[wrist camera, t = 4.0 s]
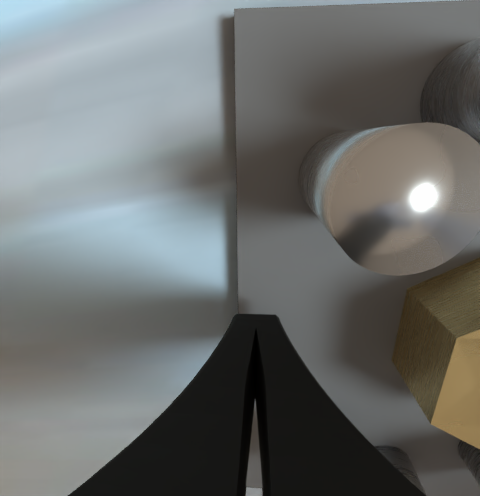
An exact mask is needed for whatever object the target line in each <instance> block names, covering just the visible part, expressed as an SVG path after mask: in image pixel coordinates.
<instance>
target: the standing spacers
mask: <svg viewBox="0 0 480 496" xmlns="http://www.w3.org/2000/svg"><path fill="white" fill-rule="evenodd" d="M420 116H421V120H422V123H413V124H404V125H396V126H387V127H378V128H369V129H360V130H351V131H343V132H337V133H333V134H330V135H328V136H326V137H324V138H322V139H321V140H319V141H318V142H317V143H315V144H314V145H313V146H312V147H311V148H310V149H309V151H308V152H307V154H306V155H305V157H304V159H303V161H302V163H301V166H300V170H299V188H300V192H301V194H302V197H303V199H304V200H305V202H306V203H307V204H308V206H309V207H310V208H311V210H312V211H313V212H314V213H315V215H316V216H317V217H318V218H319V220H320V221H321V222H322V224H323V225H324V226H325V227H326V229H327V230H328V231H329V233H330V234H331V235H332V236H333V238H334V239H335V240H336V242H337V243H338V244H339V245H340V247H341V248H342V249H343V251H344V252H345V253H346V254H347V255H348V256H349V257H350V258H351V259H352V260H353V261H354V262H356V263H357V264H359V265H360V266H362V267H364V268H366V269H368V270H370V271H373V272H376V273H380V274H385V275H394V276H400V275H411V274H417V273H420V272H424V271H427V270H430V269H432V268H435V267H437V266H439V265H441V264H443V263H445V262H446V261H448V260H450V259H451V258H453V257H454V256H455V255H457V254H458V253H459V252H460V251H462V250H463V249H464V248H465V247H466V246H467V245H468V244H469V243H470V242H471V240H472V239H473V238H474V237H475V236H476V234H477V233H478V231H479V230H480V37H479V38H477V39H475V40H472V41H470V42H468V43H466V44H464V45H462V46H460V47H458V48H456V49H454V50H453V51H451V52H450V53H448V54H447V55H446V56H445V57H444V58H443V59H442V60H441V61H440V62H439V63H438V64H437V65H436V66H435V67H434V69H433V70H432V72H431V73H430V75H429V76H428V78H427V80H426V82H425V85H424V87H423V90H422V94H421V99H420ZM374 447H375V448H376V449H377V450H379V451H380V452H381V453H382V454H383V455H384V456H385V457H386V458H387V459H388V460H389V461H390V462H391V463H392V464H393V465H394V466H395V467H396V468H397V469H398V470H399V471H400V472H401V473H402V474H403V475H404V476H405V477H406V478H407V479H408V480H409V481H410V482H411V483H413V484H414V485H415V486H416V487H417V488H418V489H419V490H420V491H422V492H423V493H424V494H425V495H426V496H427V494H426V492H425V490H424V488H423V486H422V483H421V481H420V479H419V477H418V475H417V473H416V471H415V469H414V467H413V465H412V463H411V460H410V458H409V456H408V455H407V454H406V453H405V452H404V451H403V450H401V449H399V448H397V447H393V446H387V445H380V446H374ZM458 454H459V456H460V457H461V459H462V460H463V462H464V463H465V465H466V467H467V468H468V470H469V471H470V473H471V474H472V476H473V477H474V479H475V481H476V482H477V484H478V485H479V487H480V449H478V448H476V447H474V446H472V445H470V444H468V443H466V442H464V441H462V440H460V441H459V444H458Z"/></svg>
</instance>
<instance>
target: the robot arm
mask: <svg viewBox="0 0 480 496" xmlns="http://www.w3.org/2000/svg"><path fill="white" fill-rule="evenodd" d="M255 400H256V413H257V425H258V437H259V449H260V462H261V474H262V492H263V496H426V495H425V494H424V493H423V492H422V491H420V490H419V489H418V488H417V487H416V486H415V485H414V484H413V483H411V482H410V481H409V480H408V479H407V478H406V477H405V476H404V475H403V474H402V473H401V472H400V471H399V470H398V469H397V468H396V467H395V466H394V465H393V464H392V463H391V462H390V461H389V460H388V459H387V458H386V457H385V456H384V455H383V454H382V453H381V452H380V451H379V450H377V449H376V448H375V447H374V446H373V445H372V444H371V443H370V442H369V441H368V440H367V439H366V438H365V437H364V435H363V434H362V433H361V432H360V431H359V430H358V429H357V428H356V427H355V426H354V425H353V424H352V422H351V421H350V420H349V419H348V418H347V417H346V416H345V415H344V413H343V412H342V411H341V410H340V409H339V408H338V407H337V405H336V404H335V403H334V402H333V401H332V399H331V398H330V397H329V396H328V395H327V393H326V392H325V391H324V389H323V388H322V387H321V386H320V384H319V383H318V382H317V380H316V379H315V377H314V376H313V375H312V373H311V372H310V371H309V369H308V368H307V366H306V365H305V363H304V362H303V360H302V359H301V357H300V356H299V354H298V353H297V351H296V349H295V348H294V346H293V345H292V343H291V341H290V339H289V338H288V336H287V334H286V332H285V330H284V328H283V326H282V324H281V322H280V319H279V317H278V316H277V315H272V314H236V315H235V316H234V317H233V319H232V322H231V324H230V326H229V328H228V329H227V331H226V333H225V335H224V336H223V338H222V340H221V341H220V343H219V344H218V346H217V347H216V349H215V350H214V352H213V353H212V355H211V356H210V357H209V359H208V360H207V362H206V363H205V364H204V365H203V367H202V368H201V369H200V371H199V372H198V373H197V375H196V376H195V377H194V379H193V380H192V381H191V382H190V383H189V385H188V386H187V387H186V388H185V389H184V390H183V392H182V393H181V394H180V395H179V396H178V397H177V398H176V399H175V400H174V401H173V403H172V404H171V405H170V406H169V407H168V408H167V409H166V410H165V411H164V412H163V413H162V414H161V415H160V416H159V417H158V418H157V419H156V420H155V421H154V422H153V423H152V424H151V425H150V426H149V427H148V428H147V429H146V430H145V431H144V432H143V433H142V434H140V435H139V436H138V437H137V438H136V439H135V440H134V441H133V442H132V443H131V444H130V445H128V446H127V447H126V448H125V449H124V450H123V451H121V452H120V453H119V454H118V455H117V456H116V457H114V458H113V459H112V460H111V461H110V462H108V463H107V464H106V465H105V466H104V467H103V468H101V469H100V470H99V471H98V472H97V473H95V474H94V475H93V476H92V477H91V478H90V479H88V480H87V481H86V482H85V483H83V484H82V485H81V486H80V487H78V488H77V489H76V490H75V491H73V492H72V493H71V494H69V495H68V496H245V495H246V481H247V471H248V461H249V452H250V443H251V433H252V424H253V414H254V405H255Z"/></svg>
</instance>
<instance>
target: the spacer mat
mask: <svg viewBox="0 0 480 496" xmlns="http://www.w3.org/2000/svg"><path fill="white" fill-rule="evenodd" d="M234 31H235V108H236V185H237V261H238V314H272V315H277V316H278V317H279V319H280V322H281V324H282V326H283V328H284V330H285V332H286V334H287V336H288V338H289V339H290V341H291V343H292V345H293V346H294V348H295V349H296V351H297V353H298V354H299V356H300V357H301V359H302V360H303V362H304V363H305V365H306V366H307V368H308V369H309V371H310V372H311V373H312V375H313V376H314V377H315V379H316V380H317V382H318V383H319V384H320V386H321V387H322V388H323V389H324V391H325V392H326V393H327V395H328V396H329V397H330V398H331V399H332V401H333V402H334V403H335V404H336V405H337V407H338V408H339V409H340V410H341V411H342V412H343V413H344V415H345V416H346V417H347V418H348V419H349V420H350V421H351V422H352V424H353V425H354V426H355V427H356V428H357V429H358V430H359V431H360V432H361V433H362V434H363V435H364V437H365V438H366V439H367V440H368V441H369V442H370V443H371V444H372V445H373V446H380V445H387V446H393V447H397V448H399V449H401V450H403V451H404V452H405V453H406V454H407V455H408V456H409V458H410V460H411V463H412V465H413V467H414V469H415V471H416V473H417V475H418V477H419V479H420V481H421V483H422V486H423V488H424V490H425V492H426V494H427V496H480V487H479V485H478V484H477V482H476V481H475V479H474V477H473V476H472V474H471V473H470V471H469V470H468V468H467V467H466V465H465V463H464V462H463V460H462V459H461V457H460V456H459V454H458V444H459V441H460V439H459V438H457V437H455V436H453V435H451V434H449V433H447V432H445V431H443V430H441V429H439V428H437V427H435V426H433V425H431V424H430V422H429V421H428V419H427V417H426V416H425V414H424V413H423V411H422V409H421V408H420V406H419V404H418V403H417V401H416V399H415V398H414V396H413V395H412V393H411V391H410V390H409V388H408V386H407V385H406V383H405V381H404V380H403V378H402V376H401V375H400V373H399V372H398V370H397V368H396V367H395V365H394V363H393V362H392V355H393V351H394V346H395V342H396V337H397V332H398V328H399V323H400V319H401V314H402V309H403V305H404V300H405V296H406V291H407V288H410V287H412V286H414V285H417V284H419V283H421V282H424V281H426V280H428V279H431V278H433V277H435V276H438V275H440V274H442V273H445V272H447V271H449V270H452V269H454V268H456V267H459V266H461V265H463V264H465V263H468V262H470V261H472V260H475V259H477V258H479V257H480V230H479V231H478V233H477V234H476V236H475V237H474V238H473V239H472V240H471V242H470V243H469V244H468V245H467V246H466V247H465V248H464V249H463V250H462V251H460V252H459V253H458V254H457V255H455V256H454V257H453V258H451V259H450V260H448V261H446V262H445V263H443V264H441V265H439V266H437V267H435V268H432V269H430V270H427V271H424V272H420V273H417V274H411V275H400V276H394V275H385V274H380V273H376V272H373V271H370V270H368V269H366V268H364V267H362V266H360V265H359V264H357V263H356V262H354V261H353V260H352V259H351V258H350V257H349V256H348V255H347V254H346V253H345V252H344V251H343V249H342V248H341V247H340V245H339V244H338V243H337V242H336V240H335V239H334V238H333V236H332V235H331V234H330V233H329V231H328V230H327V229H326V227H325V226H324V225H323V224H322V222H321V221H320V220H319V218H318V217H317V216H316V215H315V213H314V212H313V211H312V210H311V208H310V207H309V206H308V204H307V203H306V202H305V200H304V199H303V197H302V194H301V192H300V188H299V170H300V166H301V163H302V161H303V159H304V157H305V155H306V154H307V152H308V151H309V149H310V148H311V147H312V146H313V145H314V144H315V143H317V142H318V141H319V140H321V139H322V138H324V137H326V136H328V135H330V134H333V133H337V132H343V131H351V130H360V129H369V128H378V127H387V126H396V125H404V124H413V123H422V120H421V116H420V99H421V94H422V90H423V87H424V85H425V82H426V80H427V78H428V76H429V75H430V73H431V72H432V70H433V69H434V67H435V66H436V65H437V64H438V63H439V62H440V61H441V60H442V59H443V58H444V57H445V56H446V55H447V54H448V53H450V52H451V51H453V50H454V49H456V48H458V47H460V46H462V45H464V44H466V43H468V42H470V41H472V40H475V39H477V38H479V37H480V0H463V1H436V2H409V3H381V4H354V5H327V6H299V7H272V8H245V9H234ZM246 487H250V488H262V474H261V462H260V449H259V437H258V425H257V413H256V400H255V405H254V414H253V424H252V433H251V443H250V452H249V461H248V471H247V481H246Z"/></svg>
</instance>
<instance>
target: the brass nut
mask: <svg viewBox="0 0 480 496" xmlns="http://www.w3.org/2000/svg"><path fill="white" fill-rule="evenodd" d="M392 362H393V363H394V365H395V367H396V368H397V370H398V372H399V373H400V375H401V376H402V378H403V380H404V381H405V383H406V385H407V386H408V388H409V390H410V391H411V393H412V395H413V396H414V398H415V399H416V401H417V403H418V404H419V406H420V408H421V409H422V411H423V413H424V414H425V416H426V417H427V419H428V421H429V422H430V424H431V425H433V426H435V427H437V428H439V429H441V430H443V431H445V432H447V433H449V434H451V435H453V436H455V437H457V438H459V439H460V440H462V441H464V442H466V443H468V444H470V445H472V446H474V447H476V448H478V449H480V257H479V258H477V259H475V260H472V261H470V262H468V263H465V264H463V265H461V266H459V267H456V268H454V269H452V270H449V271H447V272H445V273H442V274H440V275H438V276H435V277H433V278H431V279H428V280H426V281H424V282H421V283H419V284H417V285H414V286H412V287H410V288H407V291H406V296H405V300H404V305H403V309H402V314H401V319H400V323H399V328H398V332H397V337H396V342H395V346H394V351H393V355H392Z"/></svg>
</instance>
